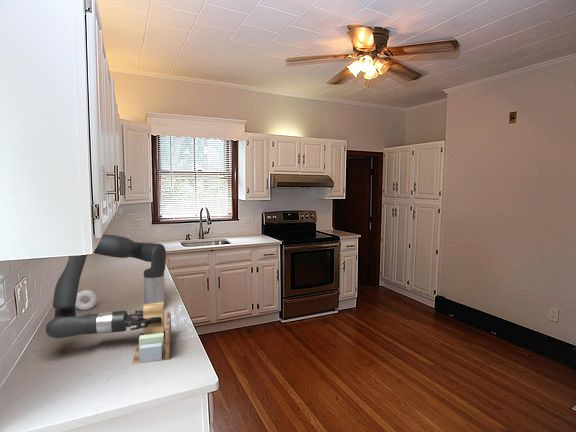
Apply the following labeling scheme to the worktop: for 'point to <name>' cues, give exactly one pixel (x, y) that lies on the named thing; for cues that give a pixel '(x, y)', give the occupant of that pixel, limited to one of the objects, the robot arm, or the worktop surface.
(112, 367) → the worktop surface
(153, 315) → the light brown wooden block
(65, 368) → the worktop surface
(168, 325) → the rack
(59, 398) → the worktop surface
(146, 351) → the offcut
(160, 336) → the offcut
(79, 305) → the donut
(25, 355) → the worktop surface
